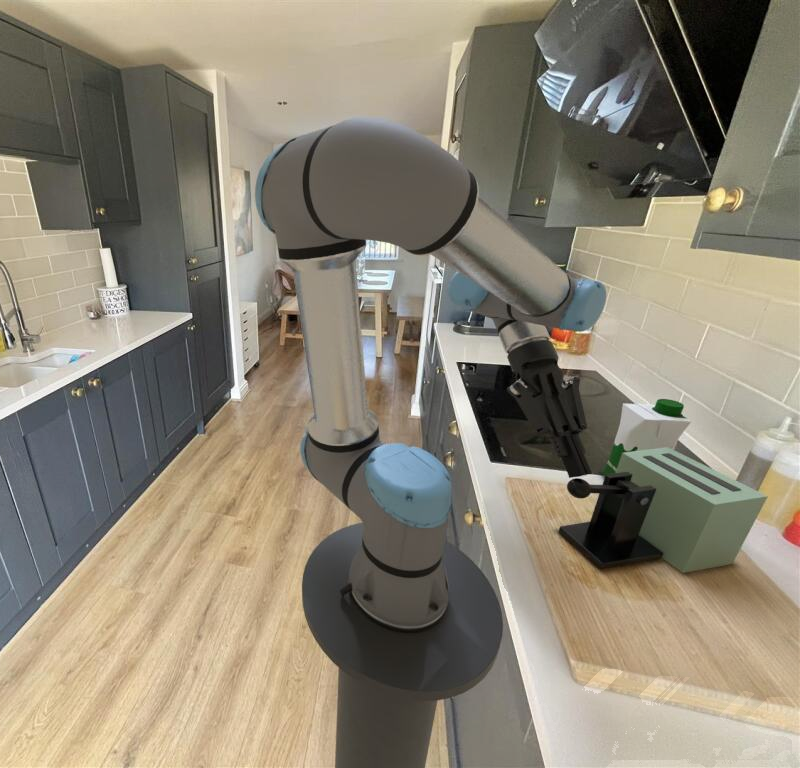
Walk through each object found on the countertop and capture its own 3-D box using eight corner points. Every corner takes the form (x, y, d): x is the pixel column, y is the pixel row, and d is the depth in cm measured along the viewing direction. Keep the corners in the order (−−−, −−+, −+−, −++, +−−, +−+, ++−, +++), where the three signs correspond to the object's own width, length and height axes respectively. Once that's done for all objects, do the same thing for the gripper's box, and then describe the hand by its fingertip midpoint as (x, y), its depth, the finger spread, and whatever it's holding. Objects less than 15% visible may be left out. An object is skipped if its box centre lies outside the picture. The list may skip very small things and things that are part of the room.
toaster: (682, 573, 65) (715, 503, 60) (601, 512, 79) (622, 451, 74) (732, 564, 67) (768, 495, 61) (644, 506, 80) (667, 446, 75)
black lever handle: (575, 502, 63) (583, 485, 62) (559, 490, 66) (566, 473, 65) (638, 504, 66) (647, 488, 65) (620, 492, 69) (628, 477, 68)
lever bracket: (600, 570, 66) (624, 503, 61) (558, 532, 74) (576, 470, 69) (661, 559, 68) (689, 493, 63) (613, 523, 76) (635, 462, 71)
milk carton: (666, 499, 82) (701, 413, 75) (617, 495, 84) (647, 410, 76) (639, 474, 90) (668, 394, 83) (594, 471, 92) (619, 392, 84)
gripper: (546, 354, 77) (597, 475, 69) (484, 359, 76) (528, 484, 67) (575, 335, 71) (636, 466, 62) (507, 340, 69) (561, 476, 60)
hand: (580, 475), depth 64 cm, fingers closed
